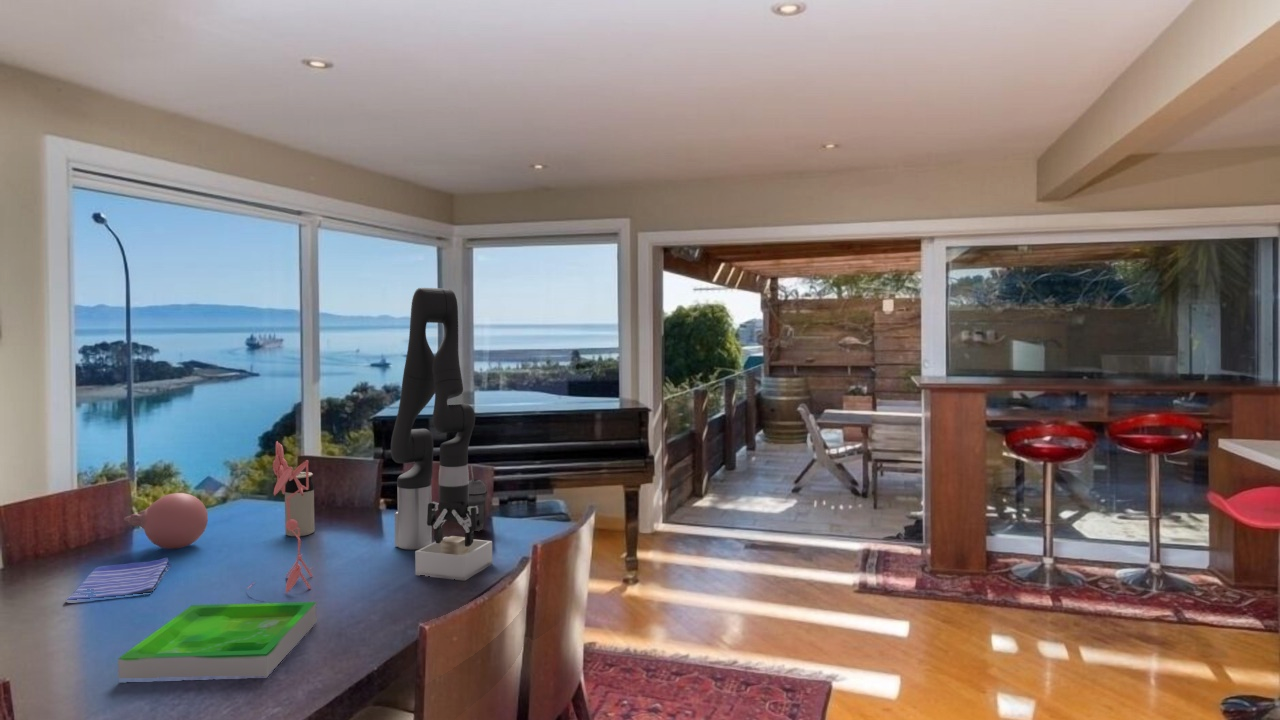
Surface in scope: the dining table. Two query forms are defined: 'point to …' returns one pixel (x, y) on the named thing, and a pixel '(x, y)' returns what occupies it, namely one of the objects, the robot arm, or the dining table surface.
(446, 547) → the ash block
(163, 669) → the tray
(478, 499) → the beverage cup
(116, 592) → the dish towel
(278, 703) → the dining table surface
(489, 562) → the grey bin
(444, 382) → the robot arm
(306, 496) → the travel mug
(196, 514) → the pink water balloon
